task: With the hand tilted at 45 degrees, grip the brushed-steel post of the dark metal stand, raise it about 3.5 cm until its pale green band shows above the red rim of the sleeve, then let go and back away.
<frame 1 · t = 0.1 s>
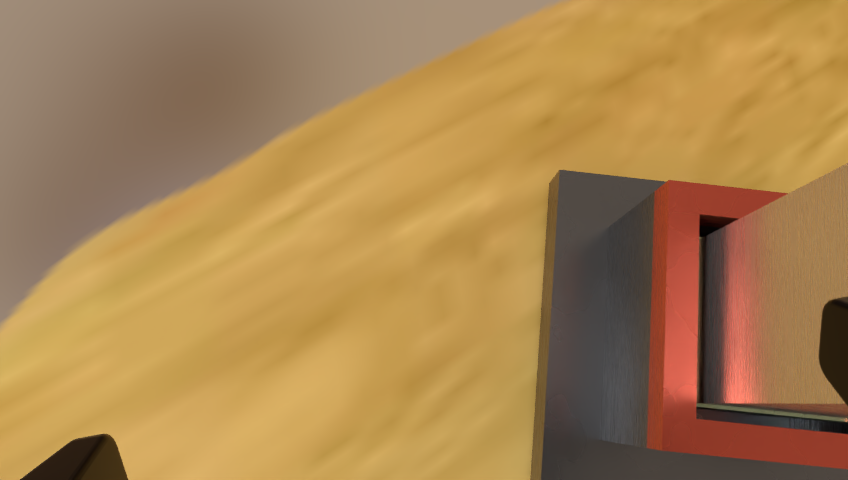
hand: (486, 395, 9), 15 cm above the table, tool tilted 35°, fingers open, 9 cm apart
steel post: (825, 319, 17), point 8 cm above the table, slide at 0.0 cm
stand: (689, 344, 24), on the table
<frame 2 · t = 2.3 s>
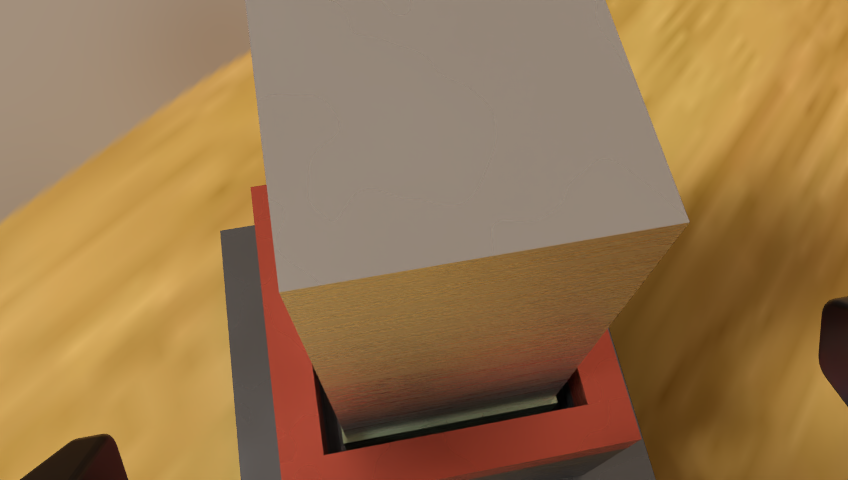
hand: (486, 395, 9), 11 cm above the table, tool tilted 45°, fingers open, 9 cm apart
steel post: (433, 283, 14), point 8 cm above the table, slide at 0.0 cm
stand: (426, 383, 21), on the table
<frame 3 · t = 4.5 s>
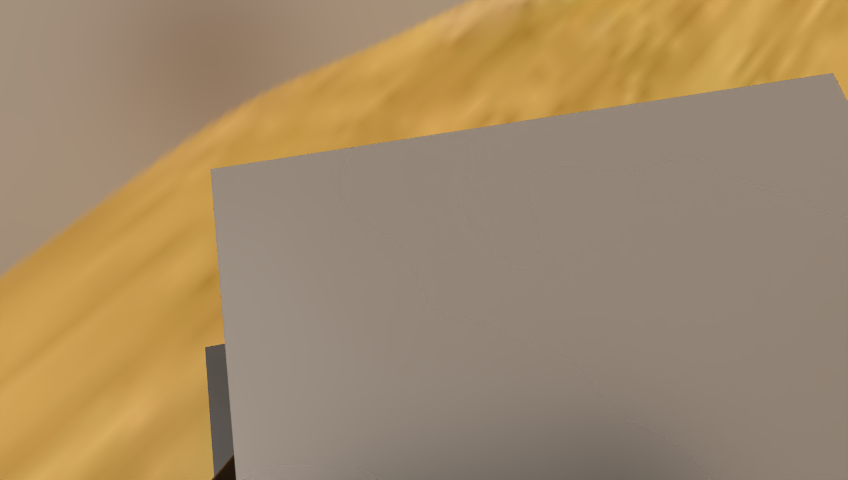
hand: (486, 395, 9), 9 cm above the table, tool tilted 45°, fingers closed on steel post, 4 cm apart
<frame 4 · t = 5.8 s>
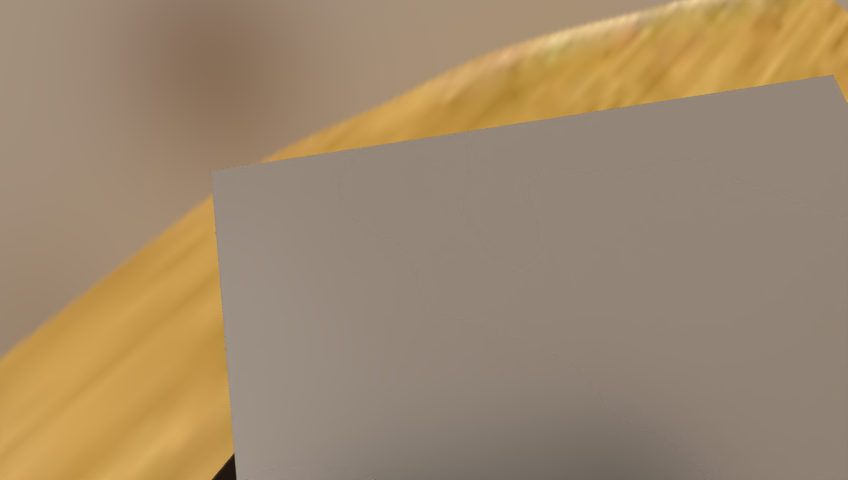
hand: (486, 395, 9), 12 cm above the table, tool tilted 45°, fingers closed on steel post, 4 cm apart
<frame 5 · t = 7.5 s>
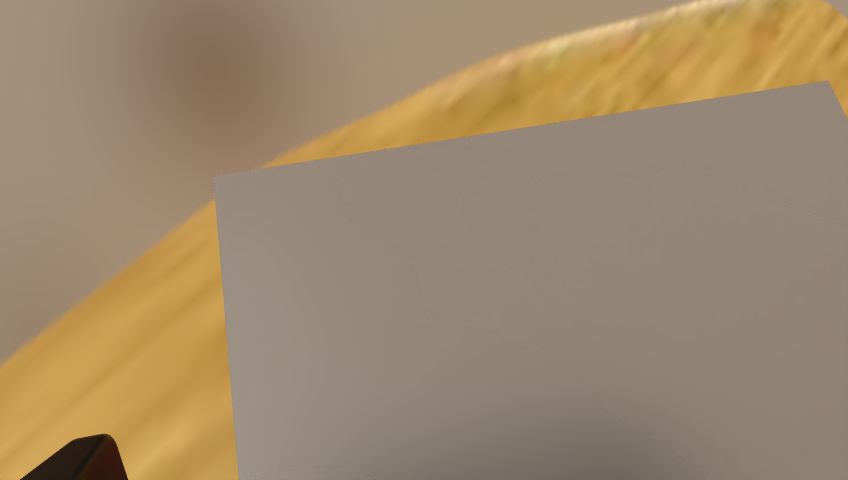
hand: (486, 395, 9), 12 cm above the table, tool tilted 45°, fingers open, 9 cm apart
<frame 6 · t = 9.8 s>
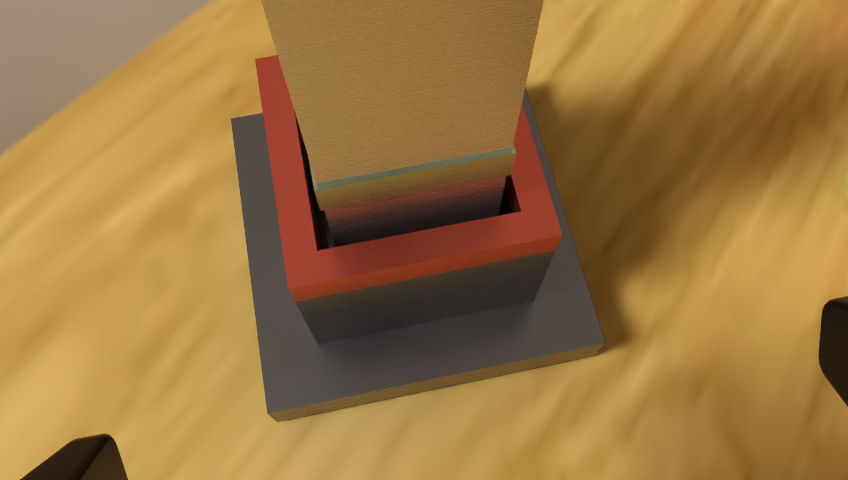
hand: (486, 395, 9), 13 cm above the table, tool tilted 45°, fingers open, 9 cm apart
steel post: (392, 24, 14), point 11 cm above the table, slide at 3.4 cm
stand: (406, 241, 25), on the table
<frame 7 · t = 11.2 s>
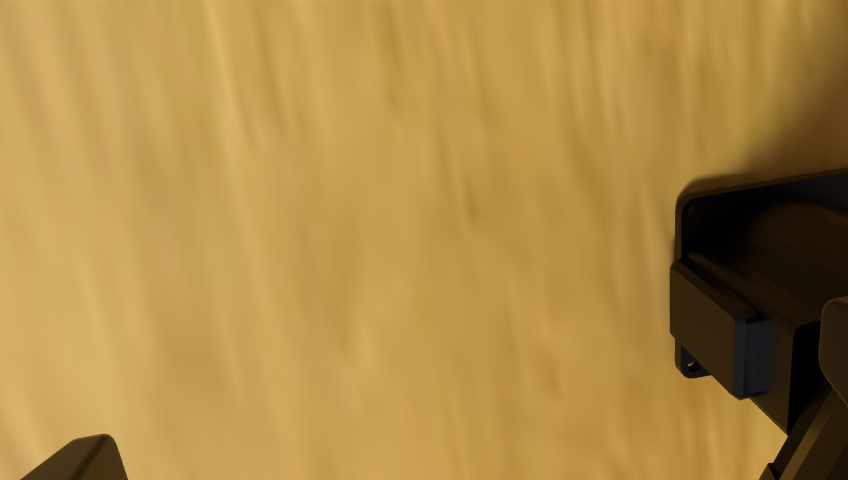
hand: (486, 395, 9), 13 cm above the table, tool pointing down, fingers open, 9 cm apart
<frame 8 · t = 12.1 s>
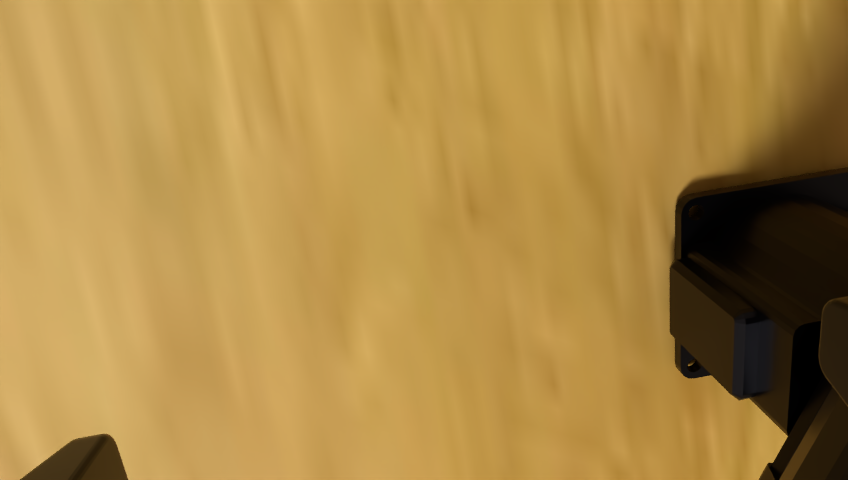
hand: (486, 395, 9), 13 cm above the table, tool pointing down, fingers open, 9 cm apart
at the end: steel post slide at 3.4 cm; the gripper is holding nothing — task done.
